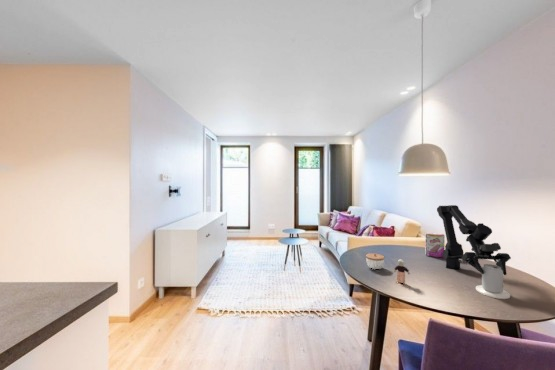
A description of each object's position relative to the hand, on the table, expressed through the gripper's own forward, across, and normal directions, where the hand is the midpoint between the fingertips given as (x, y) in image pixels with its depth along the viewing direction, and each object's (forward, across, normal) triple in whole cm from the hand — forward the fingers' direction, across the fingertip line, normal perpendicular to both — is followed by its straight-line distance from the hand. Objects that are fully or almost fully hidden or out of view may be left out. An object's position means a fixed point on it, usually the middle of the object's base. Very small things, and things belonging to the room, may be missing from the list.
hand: (494, 274), depth 108 cm
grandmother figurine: (+2, -39, +12) cm, 41 cm away
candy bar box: (-33, 0, +47) cm, 58 cm away
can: (+5, 0, +7) cm, 9 cm away
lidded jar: (-12, -48, +26) cm, 56 cm away
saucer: (+6, 0, +8) cm, 10 cm away
